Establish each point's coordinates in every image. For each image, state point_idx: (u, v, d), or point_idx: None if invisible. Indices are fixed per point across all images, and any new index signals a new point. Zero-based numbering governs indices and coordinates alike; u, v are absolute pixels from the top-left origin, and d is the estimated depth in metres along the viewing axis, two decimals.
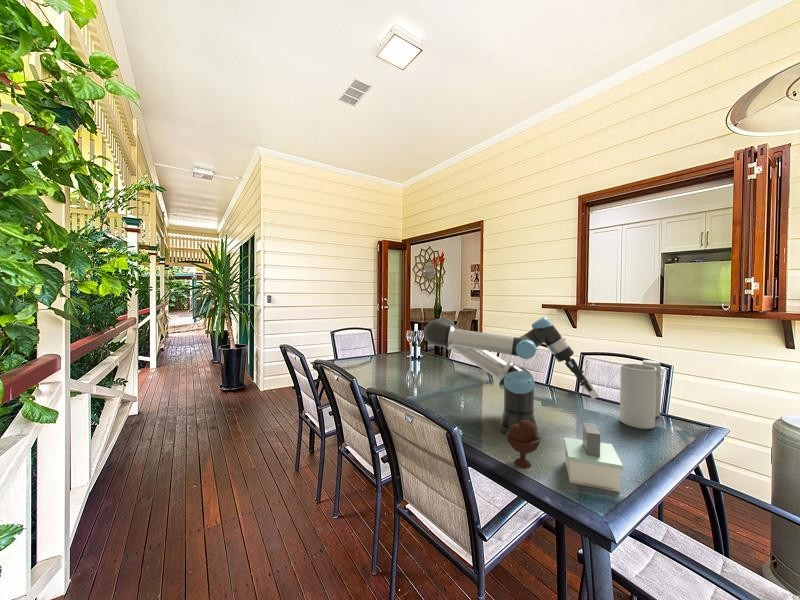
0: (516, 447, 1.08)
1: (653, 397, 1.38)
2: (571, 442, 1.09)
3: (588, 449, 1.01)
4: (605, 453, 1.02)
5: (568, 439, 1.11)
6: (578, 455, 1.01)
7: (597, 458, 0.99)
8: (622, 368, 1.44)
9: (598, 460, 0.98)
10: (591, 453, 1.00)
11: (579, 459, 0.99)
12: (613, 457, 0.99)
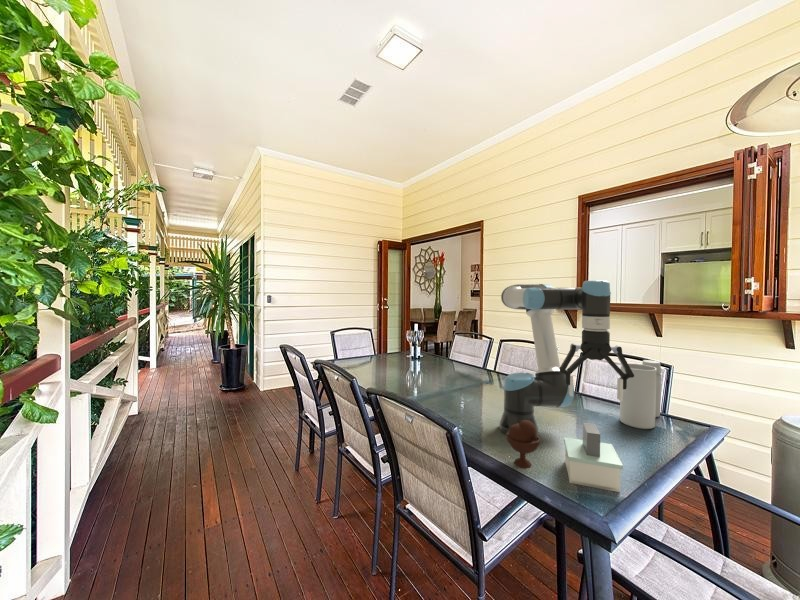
0: (516, 447, 1.08)
1: (653, 397, 1.38)
2: (571, 442, 1.09)
3: (588, 449, 1.01)
4: (605, 453, 1.02)
5: (568, 439, 1.11)
6: (578, 455, 1.01)
7: (597, 458, 0.99)
8: (622, 368, 1.44)
9: (598, 460, 0.98)
10: (591, 453, 1.00)
11: (579, 459, 0.99)
12: (613, 457, 0.99)
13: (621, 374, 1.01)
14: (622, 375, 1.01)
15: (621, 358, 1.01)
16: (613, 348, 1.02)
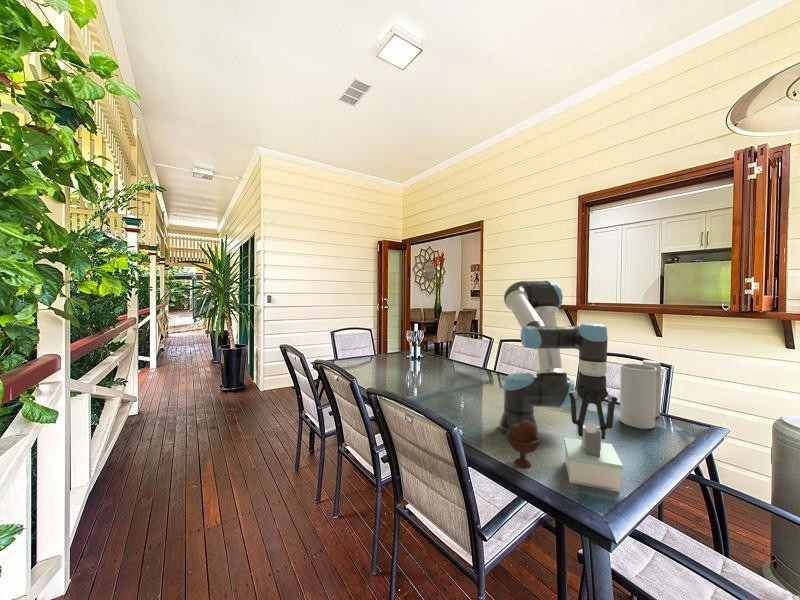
0: (516, 447, 1.08)
1: (653, 397, 1.38)
2: (571, 442, 1.09)
3: (588, 449, 1.01)
4: (605, 453, 1.02)
5: (568, 439, 1.11)
6: (578, 455, 1.01)
7: (597, 458, 0.99)
8: (622, 368, 1.44)
9: (598, 460, 0.98)
10: (591, 453, 1.00)
11: (579, 459, 0.99)
12: (613, 457, 0.99)
13: (601, 424, 1.02)
14: (602, 425, 1.01)
15: (611, 408, 1.01)
16: (609, 396, 1.01)
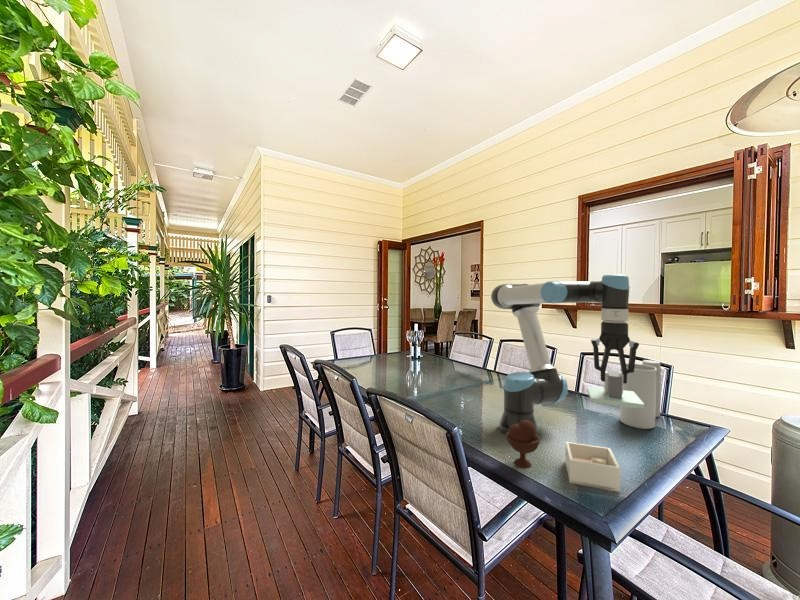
0: (516, 447, 1.08)
1: (653, 397, 1.38)
2: (594, 389, 1.15)
3: (610, 392, 1.07)
4: (627, 396, 1.07)
5: (591, 387, 1.17)
6: (600, 397, 1.07)
7: (619, 399, 1.05)
8: None
9: (620, 400, 1.04)
10: (613, 396, 1.06)
11: (602, 400, 1.05)
12: (635, 399, 1.05)
13: (623, 368, 1.07)
14: (624, 369, 1.07)
15: (632, 353, 1.06)
16: (631, 342, 1.07)
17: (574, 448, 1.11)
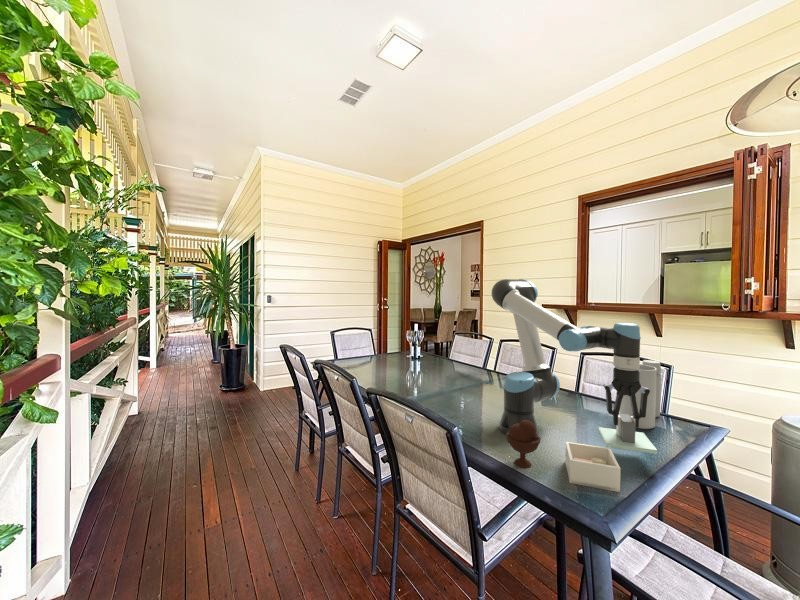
0: (516, 447, 1.08)
1: (653, 397, 1.38)
2: (606, 431, 1.20)
3: (624, 436, 1.12)
4: (639, 440, 1.13)
5: (603, 428, 1.22)
6: (615, 442, 1.12)
7: (632, 444, 1.10)
8: None
9: (634, 446, 1.09)
10: (626, 440, 1.11)
11: (616, 445, 1.10)
12: (647, 443, 1.10)
13: (635, 413, 1.13)
14: (636, 414, 1.13)
15: (644, 399, 1.12)
16: (642, 388, 1.12)
17: (574, 448, 1.11)
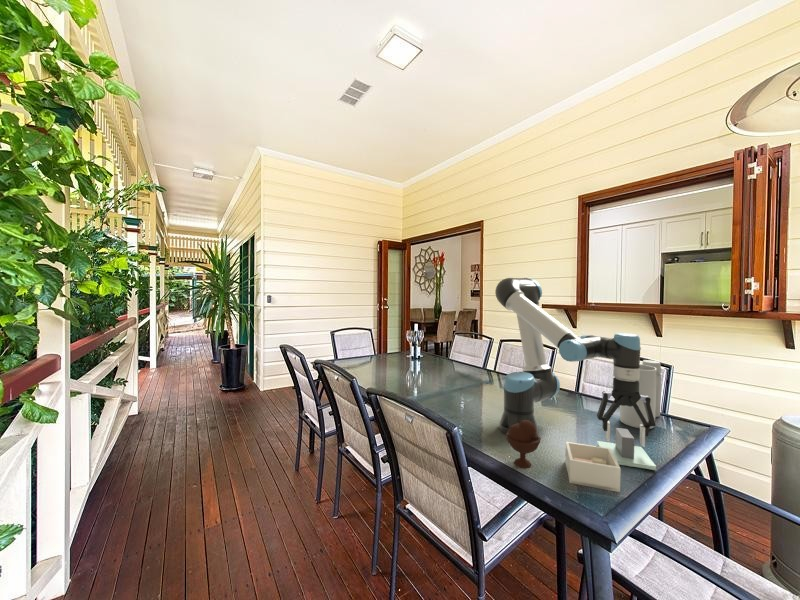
0: (516, 447, 1.08)
1: (653, 397, 1.38)
2: (605, 445, 1.20)
3: (623, 452, 1.12)
4: (638, 455, 1.13)
5: (601, 442, 1.23)
6: None
7: (631, 460, 1.10)
8: None
9: (633, 462, 1.09)
10: (625, 456, 1.12)
11: None
12: (646, 459, 1.11)
13: (644, 422, 1.12)
14: (645, 423, 1.12)
15: (647, 407, 1.11)
16: (642, 397, 1.12)
17: (574, 448, 1.11)
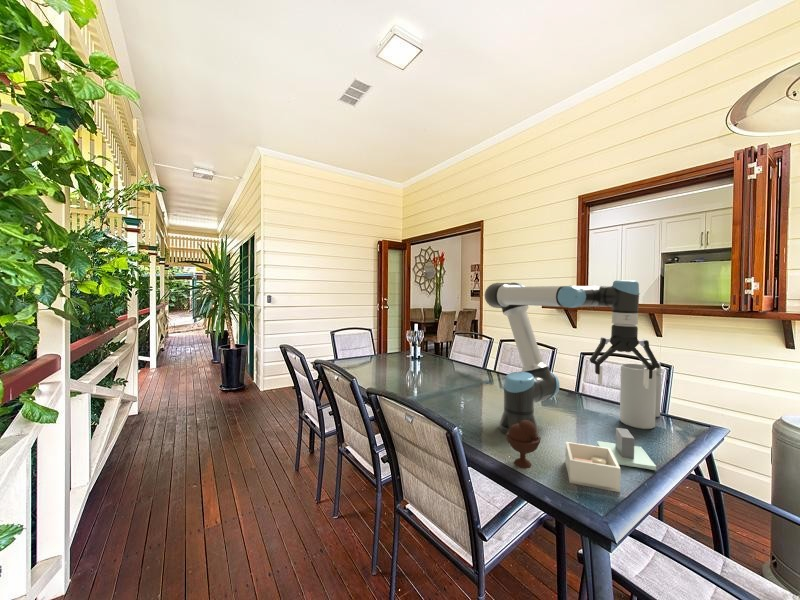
0: (516, 447, 1.08)
1: (653, 397, 1.38)
2: (605, 445, 1.20)
3: (623, 452, 1.12)
4: (638, 455, 1.13)
5: (601, 442, 1.23)
6: None
7: (631, 460, 1.10)
8: (622, 368, 1.44)
9: (633, 462, 1.09)
10: (625, 456, 1.12)
11: None
12: (646, 459, 1.11)
13: (647, 365, 1.12)
14: (648, 366, 1.12)
15: (648, 351, 1.11)
16: (640, 341, 1.13)
17: (574, 448, 1.11)
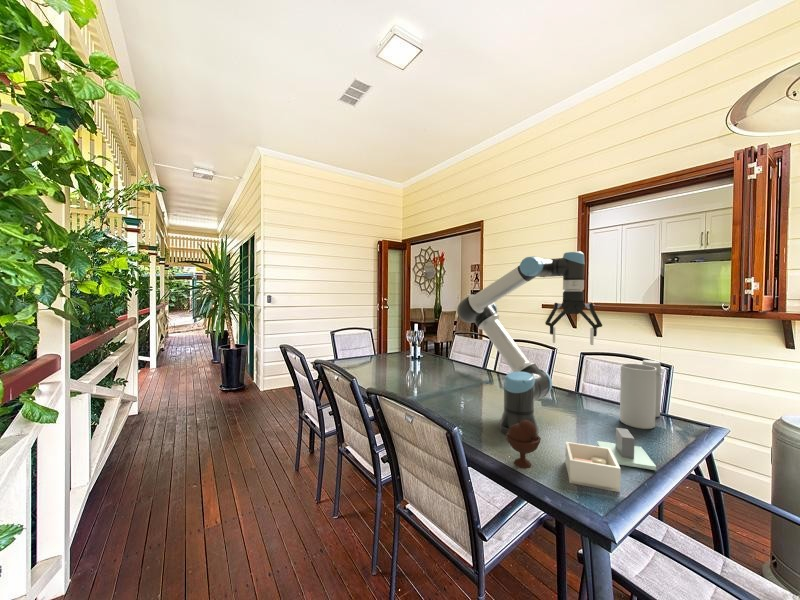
0: (516, 447, 1.08)
1: (653, 397, 1.38)
2: (605, 445, 1.20)
3: (623, 452, 1.12)
4: (638, 455, 1.13)
5: (601, 442, 1.23)
6: None
7: (631, 460, 1.10)
8: (622, 368, 1.44)
9: (633, 462, 1.09)
10: (625, 456, 1.12)
11: None
12: (646, 459, 1.11)
13: (592, 324, 1.30)
14: (593, 325, 1.30)
15: (592, 312, 1.29)
16: (586, 304, 1.31)
17: (574, 448, 1.11)
